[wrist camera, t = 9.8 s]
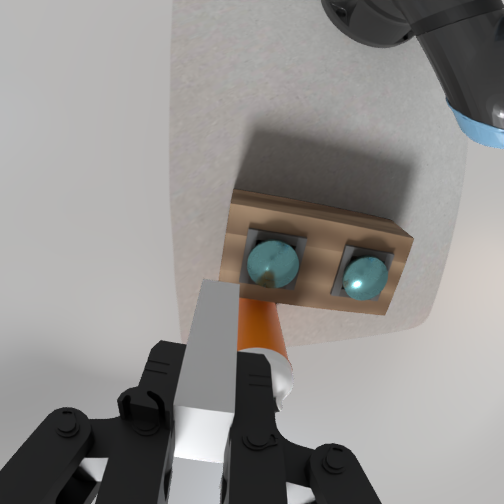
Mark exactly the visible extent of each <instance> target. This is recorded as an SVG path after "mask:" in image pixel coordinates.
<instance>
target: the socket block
mask: <svg viewBox="0 0 504 504" xmlns="http://www.w3.org/2000/svg"><path fill="white" fill-rule="evenodd" d="M270 239H277V240H282V241H284V242H286V243H288V244H289V245H291V246H292V247H293V249H294V250H295V252H296V254H297V257H298V260H299V268H298V272H297V274H296V276H295V277H294V279H293V280H292V281H291V282H290V283H288V284H287V285H285V286H283V287H280V288H272V289H271V288H265V287H262V286H260V285H258V284H256V283H255V282H254V281H253V280H252V279H251V277H250V275H249V273H248V269H247V261H248V256H249V254H250V252H251V250H252V249H253V248H254V247H255V244H256V240H263V241H265V240H270ZM413 240H414V238H413V237H412V236H410V235H409V234H408V233H407V232H405V231H404V230H403V229H402V228H400V227H399V226H398V225H397V224H395V223H394V222H393V221H392V220H389V219H385V218H381V217H376V216H372V215H367V214H363V213H358V212H354V211H349V210H344V209H340V208H335V207H330V206H325V205H320V204H315V203H310V202H305V201H300V200H294V199H289V198H284V197H278V196H273V195H267V194H261V193H255V192H250V191H244V190H238V189H233V194H232V199H231V204H230V210H229V216H228V223H227V229H226V235H225V241H224V248H223V254H222V261H221V267H220V274H219V281H221V282H228V283H234V284H240V289H239V298H246V299H253V300H260V301H267V302H274V303H281V304H289V305H297V306H305V307H313V308H321V309H329V310H338V311H347V312H356V313H365V314H375V315H385V314H386V312H387V309H388V307H389V305H390V302H391V300H392V297H393V295H394V292H395V290H396V287H397V285H398V282H399V279H400V277H401V274H402V271H403V269H404V266H405V263H406V261H407V258H408V255H409V252H410V249H411V246H412V243H413ZM366 255H370V256H375V257H377V258H379V259H380V260H381V261H382V262H383V263H384V265H385V266H386V268H387V271H388V280H387V283H386V285H385V287H384V289H383V290H382V291H381V292H380V293H379V294H378V295H377V296H375V297H373V298H371V299H368V300H362V301H361V300H355V299H353V298H351V297H350V296H349V295H348V294H347V293H346V291H345V289H344V287H343V283H342V277H343V273H344V271H345V269H346V267H347V266H348V265H349V264H350V260H351V257H352V256H358V257H361V256H366Z"/></svg>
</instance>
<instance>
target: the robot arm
mask: <svg viewBox="0 0 504 504" xmlns="http://www.w3.org/2000/svg"><path fill="white" fill-rule="evenodd" d="M321 2H322V5H323V8H324V10H325V12H326V14H327V16H328V17H329V19H330V20H331V21H332V23H333V24H334V25H335V26H336V27H337V28H338V29H339V30H340V31H341V32H343V33H344V34H345V35H347V36H348V37H350V38H351V39H353V40H355V41H357V42H359V43H361V44H364V45H367V46H371V47H377V48H389V47H394V46H397V45H400V44H402V43H405V42H407V41H408V40H410V39H411V38H412V37H414V36H415V35H416V36H417V37H416V38H417V39H418V41H419V43H420V45H421V47H422V48H423V50H424V52H425V54H426V56H427V58H428V60H429V62H430V63H431V65H432V67H433V69H434V71H435V73H436V76H437V78H438V80H439V82H440V84H441V86H442V88H443V91H444V93H445V95H446V101H447V104H448V106H449V107H450V108H451V110H452V111H453V113H454V115H455V118H456V120H457V122H458V124H459V127H460V128H461V130H462V131H463V132H464V133H465V134H466V135H467V136H468V137H469V138H470V139H471V140H473V141H475V142H477V143H479V144H482V145H485V146H489V147H494V148H501V149H504V9H503V8H504V4H503V3H502V1H501V0H321ZM421 34H422V35H421ZM239 289H240V284H234V283H228V282H221V281H214V280H207V279H203V282H202V285H201V289H200V293H199V297H198V301H197V305H196V309H195V313H194V317H193V321H192V325H191V329H190V334H189V338H188V342H187V345H186V344H180V343H173V342H168V341H162V340H161V341H159V343H157V344H156V345H155V346H154V347H153V348H152V349H151V351H150V354H149V357H148V361H147V363H146V365H145V368H144V371H143V374H142V377H141V380H140V382H139V385H138V386H137V387H133V388H129V389H127V390H126V391H125V392H123V393H121V395H120V396H119V398H118V399H117V402H118V408H119V413H120V416H118V417H115V418H110V419H88V417H87V416H86V415H85V414H84V413H83V412H81V411H80V410H77V409H75V408H69V407H68V408H67V407H63V408H59V409H56V410H54V411H53V412H52V413H50V414H49V415H48V416H47V417H46V418H45V419H44V421H43V422H42V423H41V424H40V425H39V426H38V427H37V429H36V430H35V431H34V432H33V433H32V434H31V435H30V437H29V438H28V439H27V440H26V441H25V442H24V443H23V445H22V446H21V447H20V448H19V449H18V451H17V452H16V453H15V454H14V455H13V456H12V458H11V459H10V460H9V461H8V462H7V464H6V465H5V466H4V467H3V468H2V469H1V471H0V504H91V503H92V501H93V500H94V498H95V497H96V495H97V493H98V495H97V499H96V502H95V504H168V498H169V491H170V484H171V478H172V463H173V456H175V457H181V458H187V459H195V460H201V461H209V462H218V463H223V462H224V463H223V475H222V478H221V482H220V486H219V488H221V493H220V504H382V503H381V502H380V500H379V498H378V496H377V494H376V492H375V491H374V489H373V487H372V485H371V483H370V482H369V480H368V478H367V476H366V474H365V473H364V471H363V469H362V467H361V465H360V463H359V462H358V460H357V458H356V456H355V455H354V454H353V453H352V452H351V450H349V449H348V448H346V447H344V446H342V445H338V444H334V443H332V444H324V445H321V446H319V447H317V448H316V449H315V450H314V449H310V448H307V447H303V446H300V445H297V444H294V443H292V442H290V441H288V440H287V439H285V438H284V437H283V436H282V435H281V434H280V432H279V431H278V429H277V426H276V422H275V410H274V398H273V388H272V379H271V378H272V374H271V365H270V363H269V361H268V360H267V358H266V357H265V355H264V354H258V353H249V352H241V351H237V336H238V312H239Z"/></svg>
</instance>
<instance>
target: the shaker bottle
mask: <svg viewBox="0 0 504 504" xmlns="http://www.w3.org/2000/svg"><path fill="white" fill-rule="evenodd" d="M237 351H241V352H249V353H258V354H264V355H265V357H266V358H267V360H268V361H269V363H270V365H271V374H272V378H271V379H272V388H273V398H274V410H275V413H276V412H279V411H281V410H282V400H283V399H284V398H285V397H286V396H287V395H288V394H289V393H290V391H291V390H292V387H293V384H294V383H293V382H294V379H293V373H292V366H291V363H290V362H289V360H288V357H287V352H286V348H285V343H284V339H283V335H282V330H281V326H280V322H279V317H278V313H277V309H276V304H275V303H274V302H267V301H260V300H253V299H246V298H239V312H238V336H237Z"/></svg>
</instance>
